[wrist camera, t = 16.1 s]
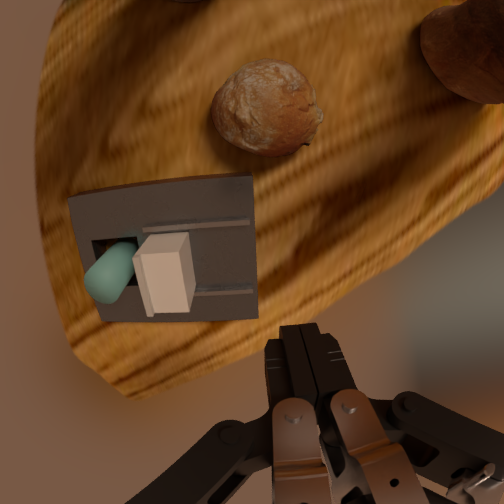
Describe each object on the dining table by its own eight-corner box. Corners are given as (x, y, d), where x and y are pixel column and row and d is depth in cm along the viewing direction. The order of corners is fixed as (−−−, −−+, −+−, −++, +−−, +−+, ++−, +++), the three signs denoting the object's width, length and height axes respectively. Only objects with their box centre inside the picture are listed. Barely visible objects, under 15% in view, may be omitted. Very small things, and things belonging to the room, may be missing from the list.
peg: (110, 237, 30) (79, 268, 22) (140, 235, 30) (113, 266, 22) (118, 268, 31) (91, 303, 24) (146, 266, 31) (124, 303, 24)
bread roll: (264, 66, 26) (240, 29, 19) (342, 108, 25) (341, 74, 17) (215, 132, 29) (177, 113, 22) (288, 181, 28) (269, 171, 20)
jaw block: (150, 234, 27) (132, 257, 21) (188, 231, 27) (177, 255, 22) (160, 286, 29) (147, 316, 24) (196, 284, 29) (188, 316, 24)
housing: (80, 191, 27) (63, 199, 24) (251, 171, 28) (253, 177, 24) (109, 308, 34) (99, 324, 30) (256, 303, 34) (259, 322, 31)
